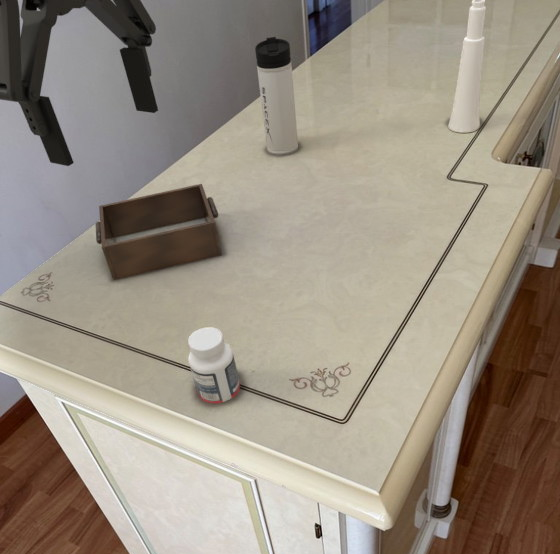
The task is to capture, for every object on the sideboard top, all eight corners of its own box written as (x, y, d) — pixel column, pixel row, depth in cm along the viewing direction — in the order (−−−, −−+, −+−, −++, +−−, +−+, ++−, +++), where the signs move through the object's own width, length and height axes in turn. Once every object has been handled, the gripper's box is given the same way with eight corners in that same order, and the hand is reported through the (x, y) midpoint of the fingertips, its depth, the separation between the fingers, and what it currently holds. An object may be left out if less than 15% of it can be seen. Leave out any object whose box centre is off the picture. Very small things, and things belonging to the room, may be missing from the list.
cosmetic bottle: (470, 118, 120) (485, -7, 104) (485, 129, 116) (503, 1, 100) (442, 124, 119) (454, -1, 104) (456, 135, 115) (470, 7, 99)
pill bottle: (230, 370, 75) (217, 316, 69) (248, 395, 72) (236, 341, 65) (192, 387, 74) (176, 334, 67) (208, 413, 70) (193, 360, 64)
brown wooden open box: (108, 285, 91) (94, 249, 86) (105, 241, 100) (92, 207, 96) (228, 257, 93) (221, 220, 88) (214, 217, 102) (207, 182, 98)
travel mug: (297, 142, 120) (288, 34, 106) (299, 157, 115) (290, 45, 101) (266, 146, 120) (253, 39, 106) (268, 161, 116) (254, 50, 101)
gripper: (-77, -88, 40) (45, 194, 55) (154, -142, 55) (202, 94, 69) (-135, -83, 44) (-5, 182, 59) (96, -136, 58) (154, 89, 73)
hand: (107, 135), depth 64 cm, fingers open, 13 cm apart
